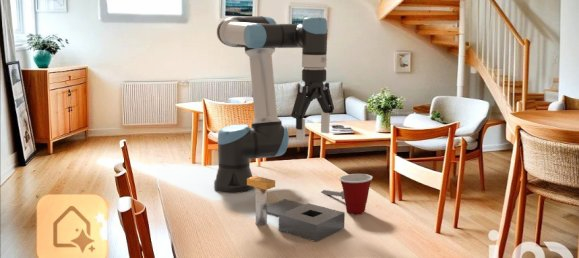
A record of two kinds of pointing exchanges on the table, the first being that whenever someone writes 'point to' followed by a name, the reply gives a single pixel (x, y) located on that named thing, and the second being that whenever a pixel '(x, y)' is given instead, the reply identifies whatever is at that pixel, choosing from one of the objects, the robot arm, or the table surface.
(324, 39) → the robot arm
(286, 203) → the key mat
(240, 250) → the table surface
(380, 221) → the table surface
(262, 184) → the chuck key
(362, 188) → the plastic cup
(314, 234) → the block
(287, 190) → the table surface
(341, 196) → the caliper
